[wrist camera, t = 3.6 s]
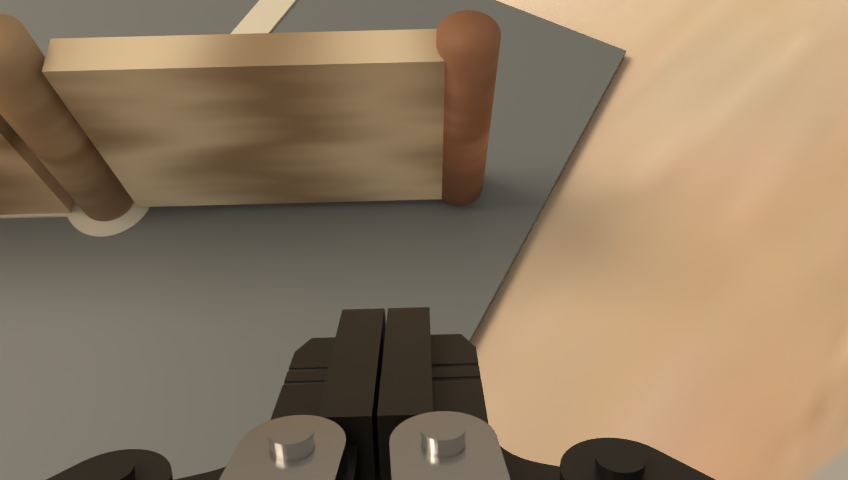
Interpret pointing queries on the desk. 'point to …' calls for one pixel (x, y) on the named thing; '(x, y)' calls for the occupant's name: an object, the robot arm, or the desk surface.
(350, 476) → the robot arm
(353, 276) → the board
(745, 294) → the desk surface
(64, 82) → the fence swing section
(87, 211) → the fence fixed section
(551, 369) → the desk surface
